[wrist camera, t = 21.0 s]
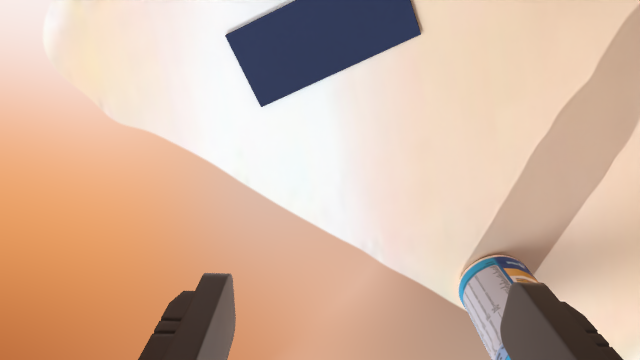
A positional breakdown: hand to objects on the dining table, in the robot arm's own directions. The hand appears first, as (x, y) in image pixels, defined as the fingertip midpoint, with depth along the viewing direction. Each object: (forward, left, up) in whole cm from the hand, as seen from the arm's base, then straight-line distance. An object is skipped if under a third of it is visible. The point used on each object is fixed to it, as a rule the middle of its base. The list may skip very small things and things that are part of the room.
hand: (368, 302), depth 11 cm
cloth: (-2, -6, -28) cm, 29 cm away
